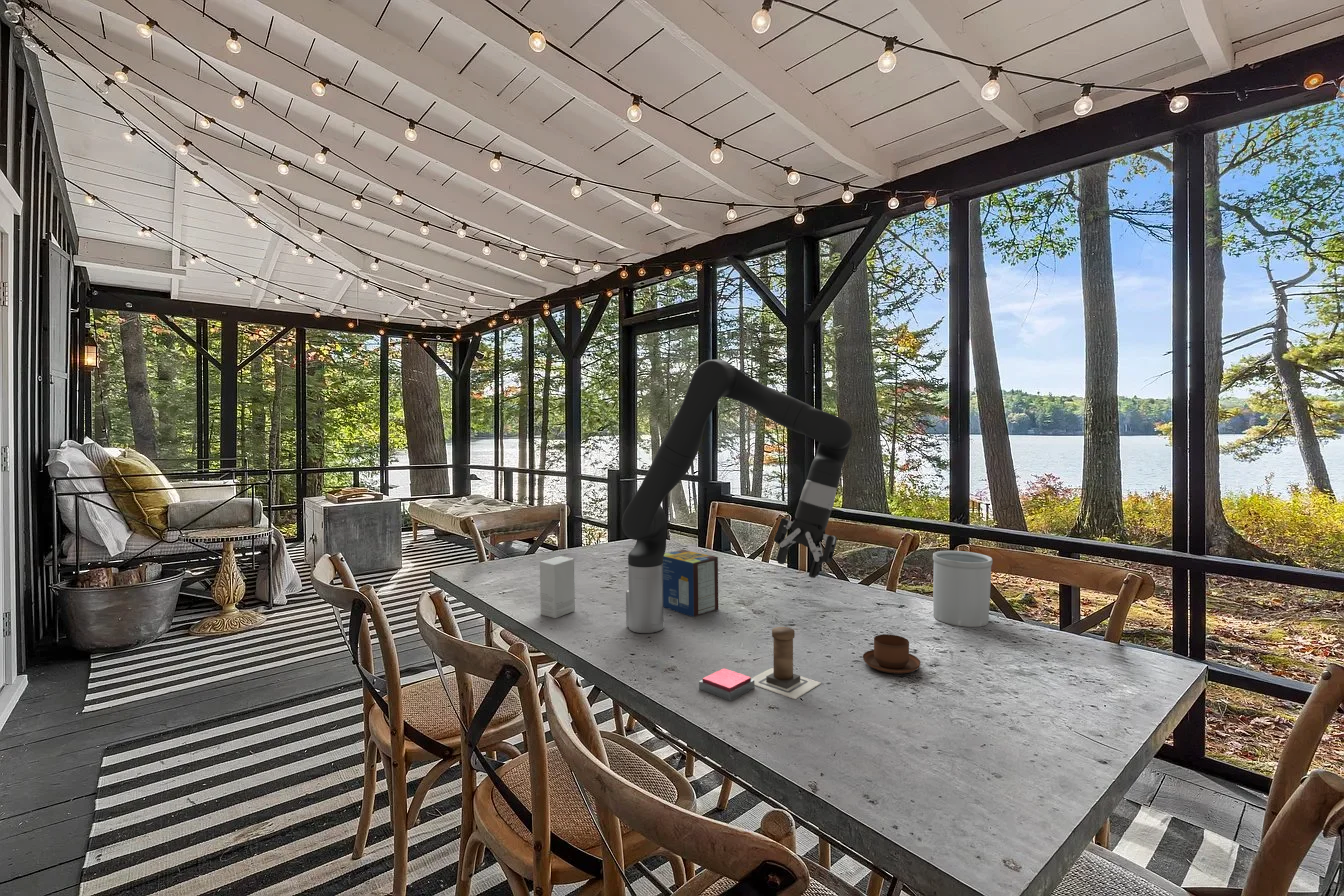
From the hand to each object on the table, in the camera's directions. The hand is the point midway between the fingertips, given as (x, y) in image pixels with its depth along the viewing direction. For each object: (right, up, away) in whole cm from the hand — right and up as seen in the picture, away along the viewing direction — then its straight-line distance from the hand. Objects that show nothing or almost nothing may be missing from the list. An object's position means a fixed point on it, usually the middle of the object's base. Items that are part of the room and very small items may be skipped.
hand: (796, 570), depth 141 cm
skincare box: (-61, -20, +35) cm, 73 cm away
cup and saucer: (+20, -21, -6) cm, 29 cm away
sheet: (-5, -21, -14) cm, 25 cm away
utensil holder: (+51, -19, +27) cm, 60 cm away
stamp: (-5, -20, -14) cm, 25 cm away
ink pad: (-17, -21, -16) cm, 32 cm away
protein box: (-24, -19, +40) cm, 50 cm away
